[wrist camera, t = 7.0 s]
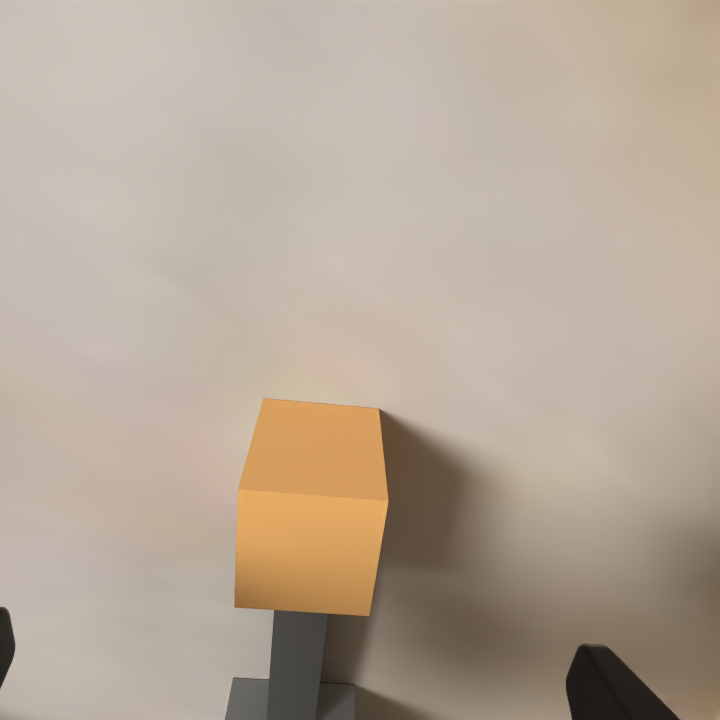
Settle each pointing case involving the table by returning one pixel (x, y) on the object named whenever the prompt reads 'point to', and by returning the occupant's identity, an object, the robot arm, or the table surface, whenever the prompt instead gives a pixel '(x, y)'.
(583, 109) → the table surface
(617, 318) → the table surface
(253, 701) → the orange and grey dumbbell
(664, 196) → the table surface
